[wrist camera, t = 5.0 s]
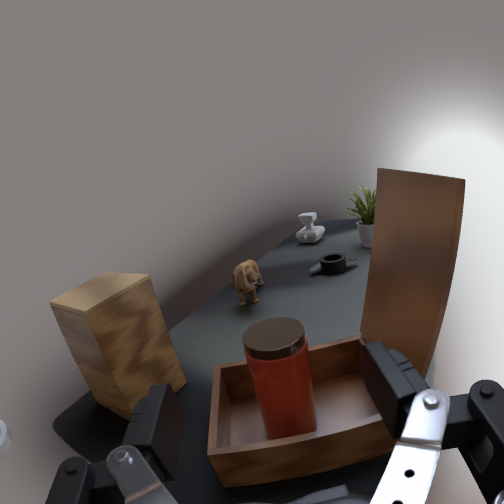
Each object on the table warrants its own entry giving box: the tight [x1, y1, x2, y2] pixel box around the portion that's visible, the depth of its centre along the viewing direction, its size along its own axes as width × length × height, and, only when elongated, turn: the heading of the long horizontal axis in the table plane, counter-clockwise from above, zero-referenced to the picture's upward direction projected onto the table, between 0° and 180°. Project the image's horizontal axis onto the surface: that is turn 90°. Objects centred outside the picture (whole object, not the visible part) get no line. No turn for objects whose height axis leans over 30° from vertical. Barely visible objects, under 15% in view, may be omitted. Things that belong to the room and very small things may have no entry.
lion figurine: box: [232, 260, 263, 305], centre depth 66 cm, size 15×5×9 cm, turn 179°
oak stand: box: [51, 279, 187, 421], centre depth 39 cm, size 10×10×16 cm
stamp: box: [296, 212, 325, 243], centre depth 94 cm, size 9×7×8 cm
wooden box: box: [207, 334, 400, 488], centre depth 30 cm, size 18×14×6 cm
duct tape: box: [309, 253, 357, 275], centre depth 71 cm, size 8×10×3 cm
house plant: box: [348, 187, 376, 248], centre depth 79 cm, size 14×14×16 cm
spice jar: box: [242, 317, 317, 440], centre depth 29 cm, size 6×6×12 cm
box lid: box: [360, 168, 465, 380], centre depth 27 cm, size 18×14×4 cm
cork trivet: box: [49, 272, 150, 316], centre depth 36 cm, size 10×10×1 cm
